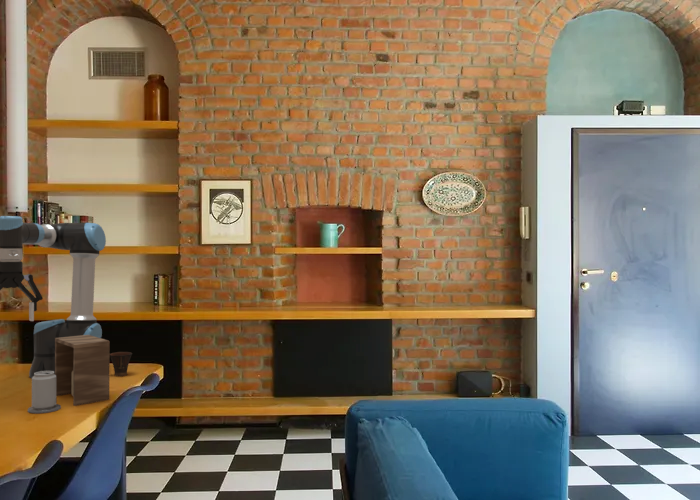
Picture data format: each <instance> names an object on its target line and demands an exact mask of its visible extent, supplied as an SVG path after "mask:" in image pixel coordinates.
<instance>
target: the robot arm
mask: <svg viewBox="0 0 700 500" xmlns="http://www.w3.org/2000/svg"><path fill="white" fill-rule="evenodd" d="M106 242H107V240H106V234H105V231H104V229H103V227H102V226H101V225H100V224H98V223H96V222H95V223H93V222H60V223H48V224H47V223H44V224H40V223H35V222H23V217H22V216H17V215H13V216H12V215H1V216H0V291H1V290H3V288H4V289H10V288H11V289H15V288H18V289H19V290H20V291H22V292H23V294H24V295H25V296H26V297H27V298H28V299H29V300H30V301H29V303H28V320H29V321H30V322H34V321H35V312H37V310H38V309H37V308H38V302H39V301H42V300H43V299H44V298H43V295H42V294H41V292H40V291H39V289H38V286H37V285H36V283H35V282H34V277H33V276H34V275H33V274H31V273H28V274H25V275H24V273H23V272H24V271H23V267H24V266H23V264H24V263H23V262H22V260H24V259H23V256H24V255H23V248H24V247H23V245H38V246H39V247H42V248H50V249H56V250H62V251H63V250H64V251H69V255H70V256H71V257H72V259H73V261H72V277H71V298H70V299H71V302H70V303H71V305H70V315H69V316H68V317H67V318H66V320H65V319H64V318H59V319H52V320H46V321H41V322H40V321H39V322H36V324H35V325H34V327H33V328H34V329H33V360H32V362H31V366H30V369H29V372H28V375H29V378H31V379H32V377H33V376H34V373H36V372H40V371H54V374H55V338H61V337H71V336H81V335H91V336H94V337H98V338H101V339H102V337H103V335H102V334H103V330H102V326H101V325H100V323H98V322H97V320H98V319H97V318H96V317H95V316H94V301H95V300H94V296H95V295H94V293H95V277H96V276H95V275H96V274H95V273H96V259H97V258H98V257H99V256H100V251H103V250H104V248H105V247H106V244H107V243H106ZM24 279H25V281H26V282H28V283H27V284H28V285H29V287H30V289H31V291H32V292H33V293H32V292H30V290H28V288H27V287H26V286H25V285H24V284H23V281H24ZM33 294H34V295H33Z"/></svg>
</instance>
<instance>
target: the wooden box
mask: <svg viewBox="0 0 700 500" xmlns="http://www.w3.org/2000/svg"><path fill="white" fill-rule="evenodd" d="M110 352H111V351H110V340H108V339H105V338H102V337H101V338H98V337H94V336H91V335H81V336H71V337H61V338H55V375H56V397H59V396H65V395H72V394H71V379H72V371H73V396H72V397H73V398H72V399H73V401H72V402H73V403H72V404H73V406H74V407H77V406H83V405H87V404H88V405H89V404H92V403H98V402H103V401H110V367H111V365H110V363H111V362H110V360H111V358H110V354H111V353H110Z"/></svg>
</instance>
